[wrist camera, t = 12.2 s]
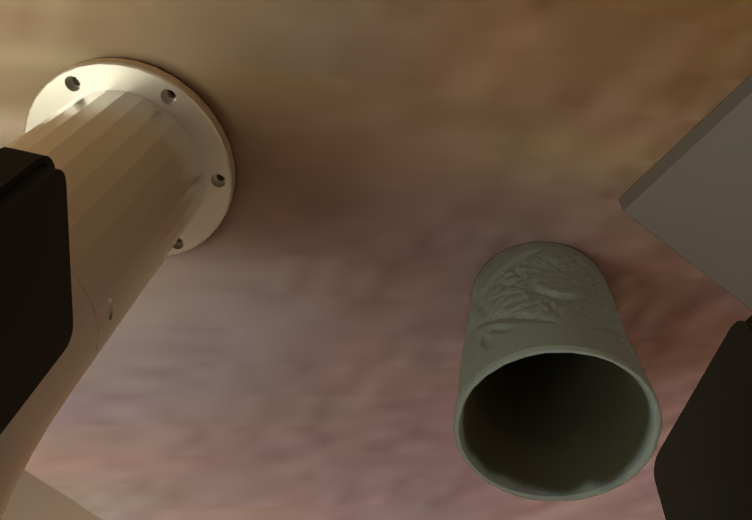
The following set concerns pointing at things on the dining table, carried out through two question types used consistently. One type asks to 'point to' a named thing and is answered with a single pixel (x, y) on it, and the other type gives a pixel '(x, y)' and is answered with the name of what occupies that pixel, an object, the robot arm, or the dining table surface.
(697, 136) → the post base
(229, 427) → the dining table surface
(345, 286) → the dining table surface
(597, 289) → the grey-green cup
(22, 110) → the dining table surface
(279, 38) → the dining table surface
